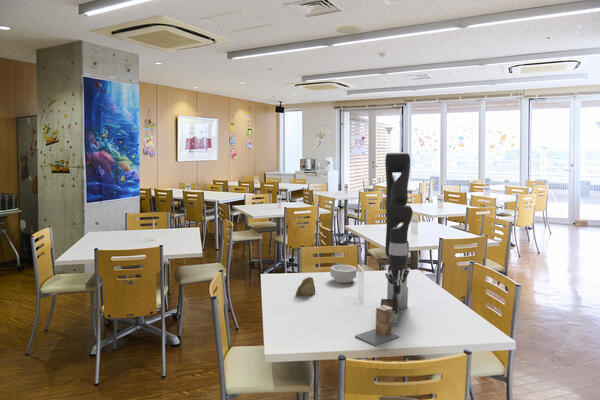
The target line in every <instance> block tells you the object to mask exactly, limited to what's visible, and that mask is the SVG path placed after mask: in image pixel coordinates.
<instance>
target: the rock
mask: <svg viewBox="0 0 600 400" xmlns="http://www.w3.org/2000/svg"><path fill="white" fill-rule="evenodd" d="M315 295H316V286H315V280H314V279H313V277H310V276H309V277H308V276H307V277H306V278H304V279H302V282H301V283H300V285H299V286H298V287H297V290H296V292H295V296H297V297H304V296H306V297H307V296H315Z"/></svg>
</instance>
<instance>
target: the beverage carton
mask: <svg viewBox="0 0 600 400" xmlns="http://www.w3.org/2000/svg"><path fill="white" fill-rule="evenodd" d="M382 305H385V306H388V307H391V308H392V327H399V309H398V301H397V299H387V298H381V299H380V306H382Z"/></svg>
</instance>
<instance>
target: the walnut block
mask: <svg viewBox="0 0 600 400" xmlns="http://www.w3.org/2000/svg"><path fill="white" fill-rule="evenodd" d="M375 309H376V311H375V329H376V333H377V334H379V335H382V336H387V335H390V334H391V333H392V329H393V328H392V327H393V326H392V308H391V307H388V306H385V305H382V306H381V305H378V306H376V308H375Z"/></svg>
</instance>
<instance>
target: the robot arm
mask: <svg viewBox="0 0 600 400" xmlns="http://www.w3.org/2000/svg"><path fill="white" fill-rule="evenodd" d="M384 160H385V161H384V163H385V164H384V166H385V184H386V197H385V216H386V217H385V218H386V221H385V222H386V229H385V230H386V233H385V248H384V249H385V255H386V257H387V258H388V267H387V273H385V277H386V279H387V289H386V290H387V292H386V293H387V295H386V299H397V301H398V310H404V309H406V308H407V306H408V300H409V299H408V298H409V296H408V295H409V286H408V276H409V274H410V270H408V261H409V260H408V259H409V249H410V246H409V241H408V234H409V233H408V231H409V226H410V223H411V221H412V218H413V213H414V210H413V209H412V207H411V205H407V203H408V200H409V199H408V198H409V197H408V196H409V195H408V194H409V193H408V192H409V191H408V189H409V188H408V186H409V178H410V172H411V156H410V154H409V153H408V152H401V151H399V152H387V153H386V155H385V159H384ZM394 173H395V174H396V173H397V174H398V173H400V175H399V177H397V179H396V180H395V178H394ZM401 223H402V224H401ZM400 224H401V225H400ZM399 225H400V226H399Z"/></svg>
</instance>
